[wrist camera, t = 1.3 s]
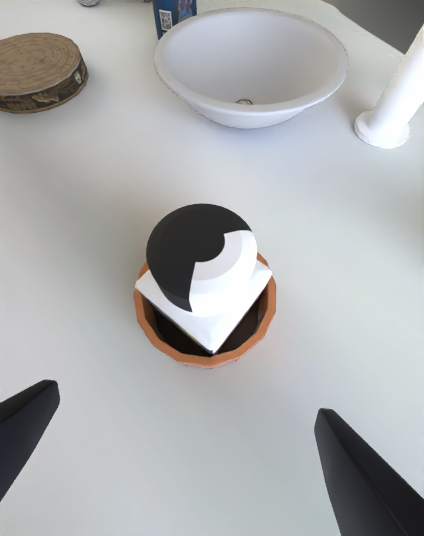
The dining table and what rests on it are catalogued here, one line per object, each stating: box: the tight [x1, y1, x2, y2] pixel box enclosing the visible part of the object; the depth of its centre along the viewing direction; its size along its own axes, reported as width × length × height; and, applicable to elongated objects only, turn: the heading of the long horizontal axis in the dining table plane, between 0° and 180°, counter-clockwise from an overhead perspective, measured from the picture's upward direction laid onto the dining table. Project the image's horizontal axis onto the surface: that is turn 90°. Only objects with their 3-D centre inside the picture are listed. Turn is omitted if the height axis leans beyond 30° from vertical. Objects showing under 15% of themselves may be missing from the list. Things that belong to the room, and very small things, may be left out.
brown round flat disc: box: [0, 33, 88, 113], centre depth 38 cm, size 16×16×3 cm
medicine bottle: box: [135, 204, 272, 357], centre depth 18 cm, size 7×7×12 cm
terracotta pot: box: [134, 252, 276, 369], centre depth 21 cm, size 11×11×4 cm
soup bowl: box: [154, 8, 348, 129], centre depth 33 cm, size 24×24×7 cm
